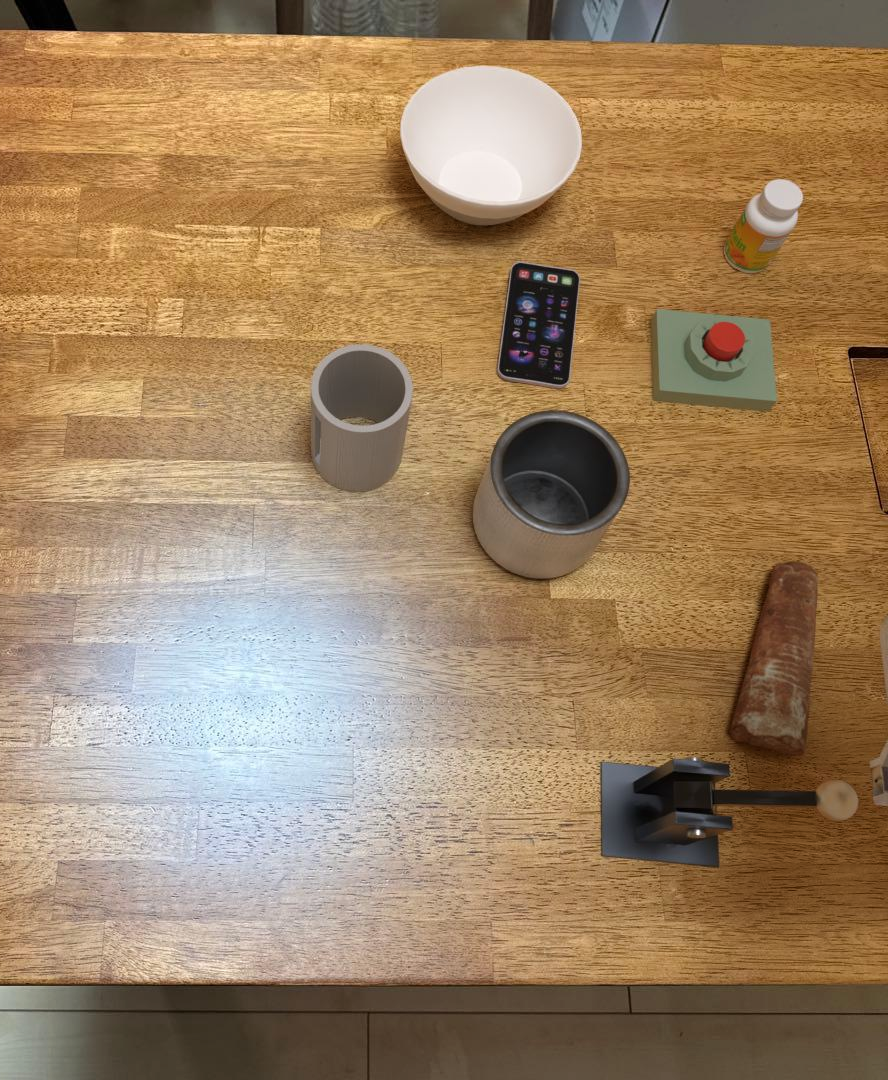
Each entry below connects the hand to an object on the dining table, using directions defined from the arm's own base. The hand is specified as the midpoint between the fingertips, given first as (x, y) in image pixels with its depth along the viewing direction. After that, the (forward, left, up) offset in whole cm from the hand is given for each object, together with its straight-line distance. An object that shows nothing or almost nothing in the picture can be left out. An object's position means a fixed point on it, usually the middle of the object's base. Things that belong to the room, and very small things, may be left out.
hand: (882, 784), depth 69 cm
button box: (+2, -47, -21) cm, 52 cm away
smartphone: (+20, -50, -21) cm, 58 cm away
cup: (+38, -33, -21) cm, 55 cm away
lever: (+4, 0, -10) cm, 11 cm away
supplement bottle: (-3, -62, -21) cm, 66 cm away
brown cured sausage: (-2, -15, -21) cm, 26 cm away
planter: (+20, -27, -21) cm, 40 cm away
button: (+2, -47, -17) cm, 50 cm away
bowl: (+27, -68, -21) cm, 76 cm away
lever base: (+9, 0, -21) cm, 23 cm away
